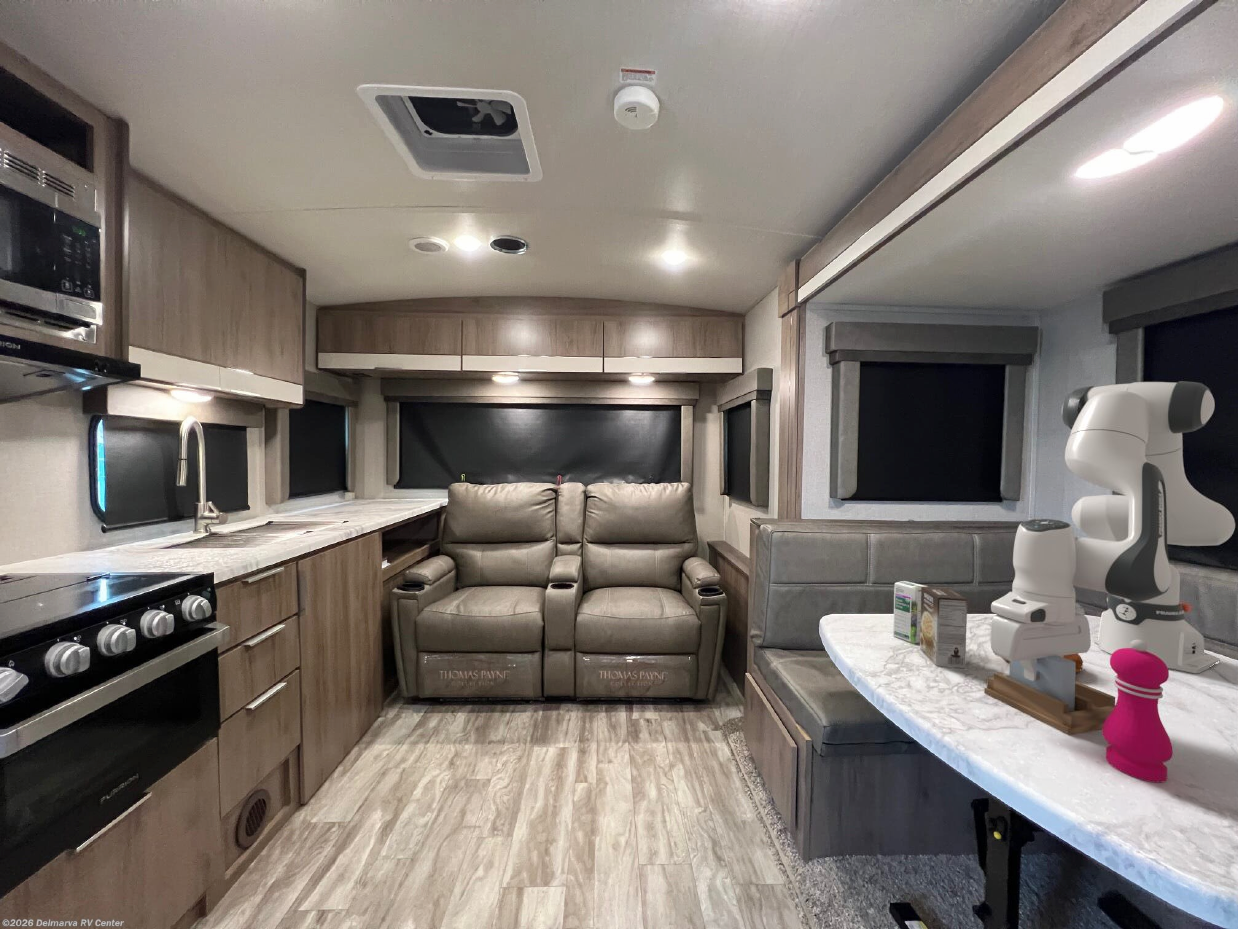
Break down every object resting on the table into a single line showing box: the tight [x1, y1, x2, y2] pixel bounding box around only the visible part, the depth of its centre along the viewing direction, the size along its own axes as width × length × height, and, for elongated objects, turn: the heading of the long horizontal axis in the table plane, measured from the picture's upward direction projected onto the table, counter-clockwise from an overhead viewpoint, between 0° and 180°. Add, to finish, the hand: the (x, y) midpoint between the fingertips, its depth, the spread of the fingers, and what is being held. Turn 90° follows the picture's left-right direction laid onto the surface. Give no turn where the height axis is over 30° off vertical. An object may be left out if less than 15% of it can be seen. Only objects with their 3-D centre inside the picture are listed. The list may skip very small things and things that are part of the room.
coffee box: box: [919, 586, 968, 669], centre depth 109 cm, size 9×6×16 cm
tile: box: [1008, 656, 1076, 712], centre depth 87 cm, size 3×9×9 cm, turn 13°
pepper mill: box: [1101, 640, 1174, 783], centre depth 71 cm, size 7×7×20 cm
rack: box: [983, 672, 1116, 736], centre depth 88 cm, size 14×14×4 cm
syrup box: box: [892, 580, 928, 644], centre depth 121 cm, size 6×6×14 cm
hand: (1040, 678), depth 87 cm, fingers closed on tile, 3 cm apart
